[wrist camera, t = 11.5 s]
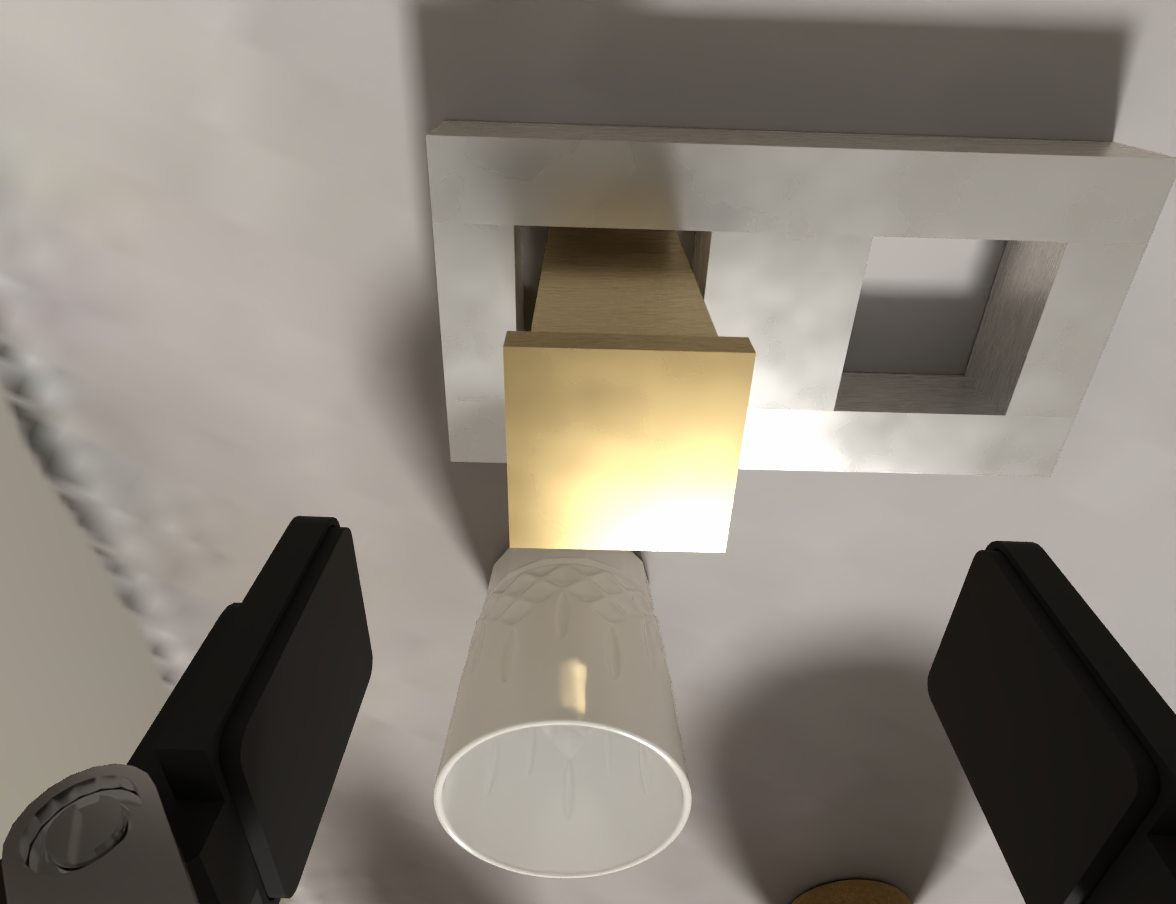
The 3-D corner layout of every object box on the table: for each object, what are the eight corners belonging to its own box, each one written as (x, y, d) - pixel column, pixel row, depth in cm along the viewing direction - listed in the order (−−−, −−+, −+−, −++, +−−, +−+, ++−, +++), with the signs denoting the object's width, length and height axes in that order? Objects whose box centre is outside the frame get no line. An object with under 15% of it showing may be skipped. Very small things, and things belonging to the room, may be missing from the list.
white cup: (489, 496, 29) (447, 702, 20) (684, 529, 30) (724, 741, 21) (465, 640, 33) (421, 864, 24) (638, 666, 34) (655, 891, 25)
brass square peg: (689, 217, 23) (756, 352, 14) (675, 357, 26) (724, 552, 16) (536, 212, 23) (502, 346, 14) (537, 353, 26) (509, 547, 16)
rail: (1113, 142, 22) (1183, 159, 20) (1007, 432, 27) (1050, 476, 25) (444, 120, 22) (425, 134, 19) (463, 418, 27) (450, 461, 24)
